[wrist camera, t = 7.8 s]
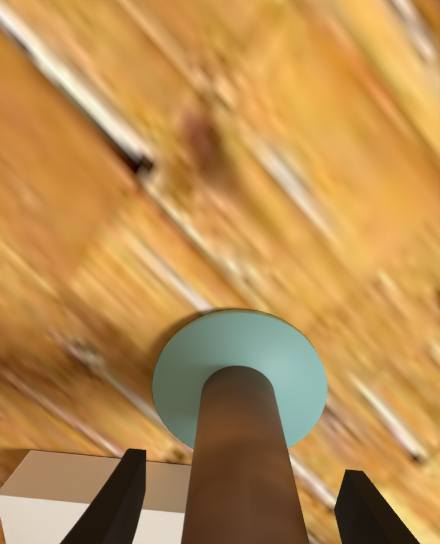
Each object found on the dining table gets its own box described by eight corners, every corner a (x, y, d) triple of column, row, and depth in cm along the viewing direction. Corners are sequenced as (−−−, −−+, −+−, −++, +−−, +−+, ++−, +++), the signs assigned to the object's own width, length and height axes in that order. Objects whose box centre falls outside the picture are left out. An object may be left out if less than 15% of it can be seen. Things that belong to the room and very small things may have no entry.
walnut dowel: (283, 373, 13) (356, 618, 6) (265, 431, 14) (306, 705, 7) (208, 359, 13) (179, 589, 6) (195, 419, 14) (157, 681, 7)
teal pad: (339, 317, 13) (344, 323, 12) (306, 457, 16) (309, 467, 15) (156, 301, 13) (153, 305, 12) (153, 442, 16) (151, 452, 15)
